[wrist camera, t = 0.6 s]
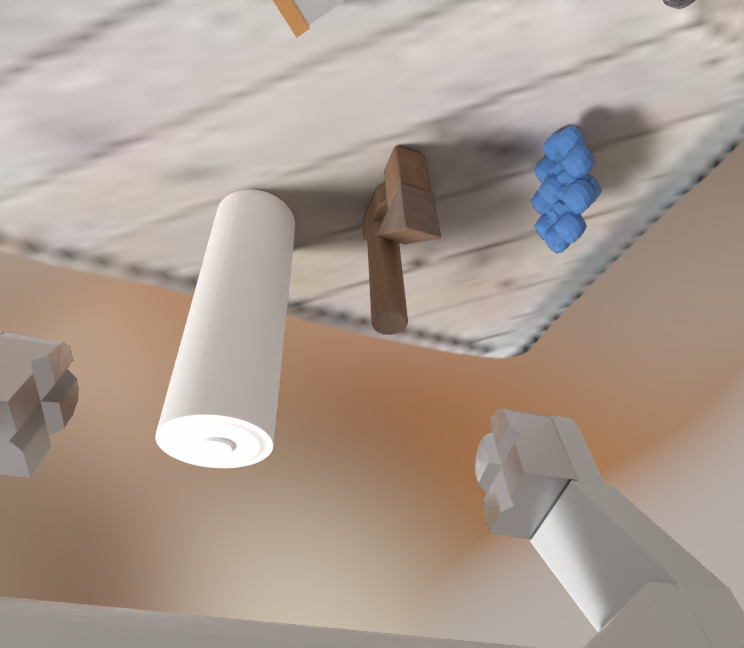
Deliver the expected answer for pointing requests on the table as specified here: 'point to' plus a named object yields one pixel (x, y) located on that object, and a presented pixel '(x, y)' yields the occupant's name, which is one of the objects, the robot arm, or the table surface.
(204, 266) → the cylinder container
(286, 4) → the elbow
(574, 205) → the grapes
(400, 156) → the wooden hammer
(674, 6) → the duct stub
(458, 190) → the table surface
